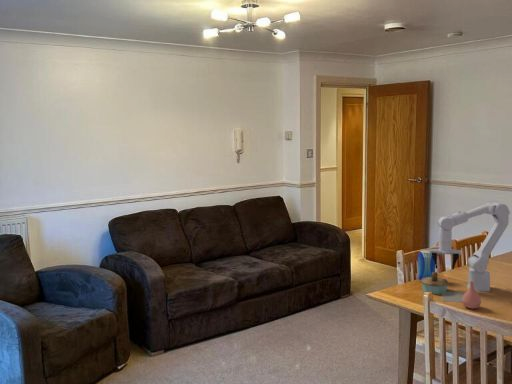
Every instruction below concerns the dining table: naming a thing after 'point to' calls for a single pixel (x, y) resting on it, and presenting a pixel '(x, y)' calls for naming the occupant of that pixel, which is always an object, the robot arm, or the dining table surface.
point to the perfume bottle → (471, 298)
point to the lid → (434, 280)
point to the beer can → (425, 265)
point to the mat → (453, 296)
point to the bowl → (434, 289)
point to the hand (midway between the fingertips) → (444, 268)
